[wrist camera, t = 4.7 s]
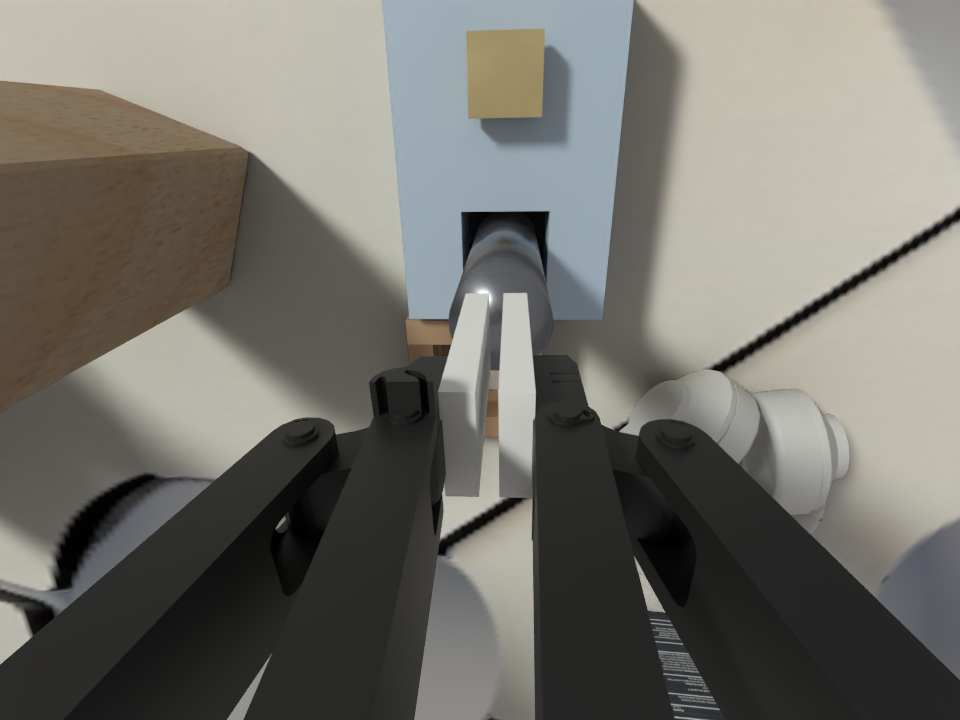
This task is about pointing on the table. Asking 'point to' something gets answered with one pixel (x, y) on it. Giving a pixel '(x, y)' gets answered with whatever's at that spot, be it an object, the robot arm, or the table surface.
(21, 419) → the table surface
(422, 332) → the rack
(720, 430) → the headphones
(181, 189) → the wooden block
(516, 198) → the socket block
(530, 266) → the cylinder
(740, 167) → the table surface
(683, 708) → the small box
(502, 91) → the small square tan block
